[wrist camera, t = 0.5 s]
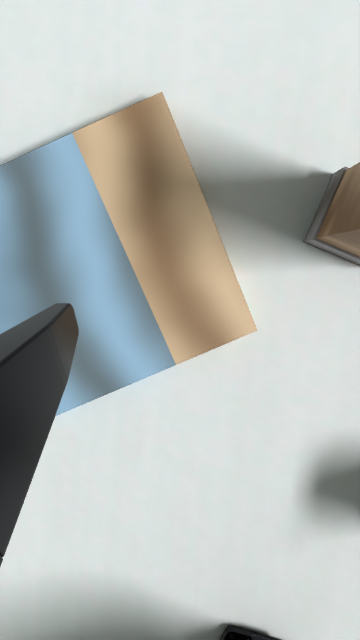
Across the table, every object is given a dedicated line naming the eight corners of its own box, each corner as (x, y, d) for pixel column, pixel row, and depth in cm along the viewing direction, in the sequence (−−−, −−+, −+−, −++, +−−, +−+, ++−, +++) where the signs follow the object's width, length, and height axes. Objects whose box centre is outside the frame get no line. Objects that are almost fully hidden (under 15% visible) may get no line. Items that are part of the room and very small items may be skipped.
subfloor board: (162, 101, 21) (162, 91, 20) (252, 327, 23) (257, 330, 22) (-141, 240, 22) (-159, 238, 21) (-23, 444, 24) (-33, 453, 23)
